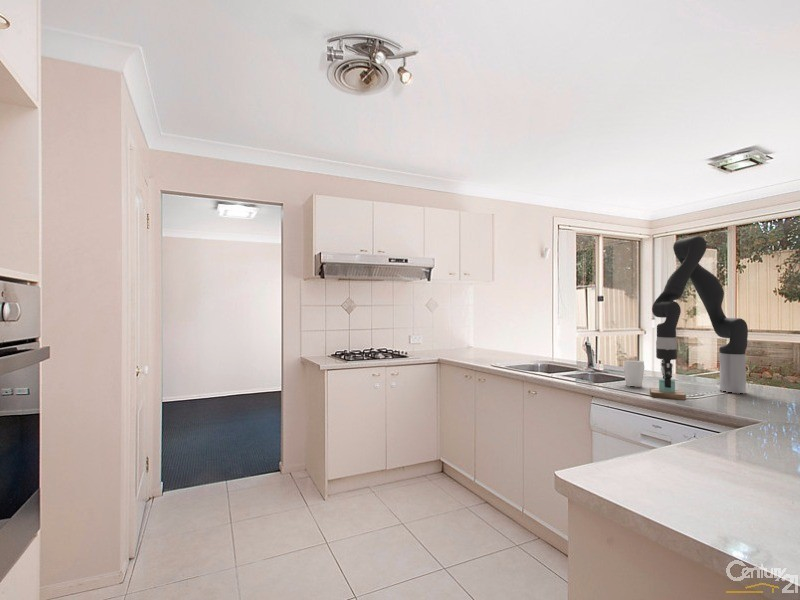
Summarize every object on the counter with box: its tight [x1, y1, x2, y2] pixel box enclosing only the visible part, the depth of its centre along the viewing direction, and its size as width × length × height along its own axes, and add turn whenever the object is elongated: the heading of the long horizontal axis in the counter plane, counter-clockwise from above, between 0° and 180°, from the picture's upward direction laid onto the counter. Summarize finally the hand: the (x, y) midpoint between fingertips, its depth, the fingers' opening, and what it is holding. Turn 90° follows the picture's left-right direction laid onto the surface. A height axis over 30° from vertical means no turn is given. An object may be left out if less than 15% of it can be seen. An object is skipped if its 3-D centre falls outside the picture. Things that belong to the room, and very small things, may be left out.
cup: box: [622, 359, 645, 388], centre depth 202 cm, size 9×9×12 cm
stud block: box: [649, 387, 687, 401], centre depth 177 cm, size 12×12×6 cm
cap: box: [658, 377, 676, 393], centre depth 177 cm, size 6×6×5 cm
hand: (666, 385), depth 177 cm, fingers open, 8 cm apart
